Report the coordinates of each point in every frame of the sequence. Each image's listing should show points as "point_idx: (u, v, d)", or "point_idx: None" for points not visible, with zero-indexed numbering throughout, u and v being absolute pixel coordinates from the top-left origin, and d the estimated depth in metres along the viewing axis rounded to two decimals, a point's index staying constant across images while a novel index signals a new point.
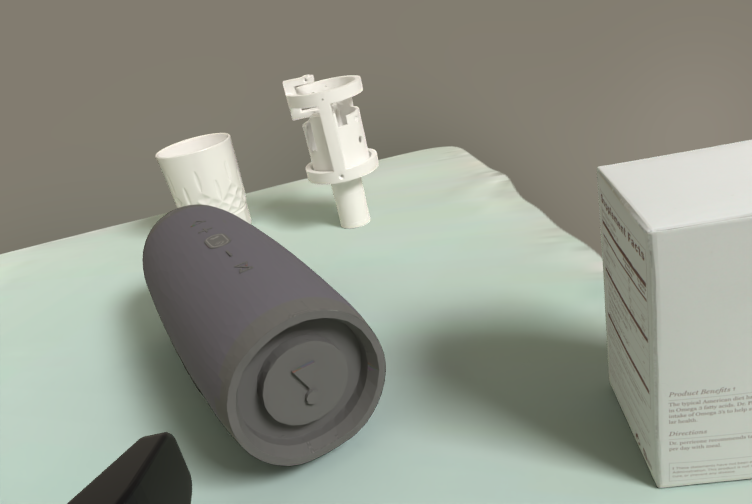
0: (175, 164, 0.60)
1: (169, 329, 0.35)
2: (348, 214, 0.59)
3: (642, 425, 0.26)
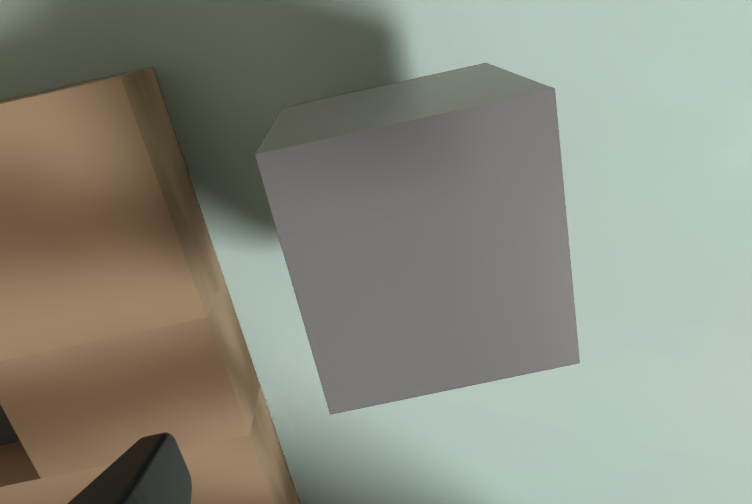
0: None
1: None
2: None
3: None
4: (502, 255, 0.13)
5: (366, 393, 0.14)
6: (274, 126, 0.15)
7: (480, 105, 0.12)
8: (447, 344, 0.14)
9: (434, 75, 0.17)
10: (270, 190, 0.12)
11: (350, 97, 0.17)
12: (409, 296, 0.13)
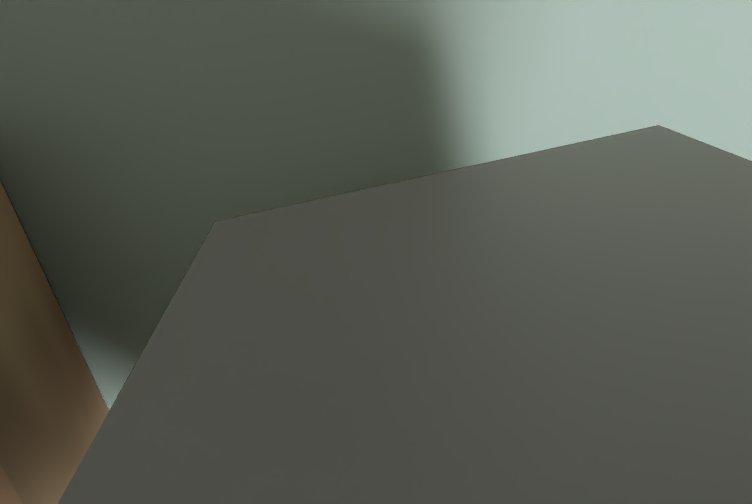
0: None
1: None
2: None
3: None
4: None
5: None
6: (159, 336, 0.05)
7: None
8: None
9: (549, 155, 0.08)
10: None
11: (364, 212, 0.07)
12: None
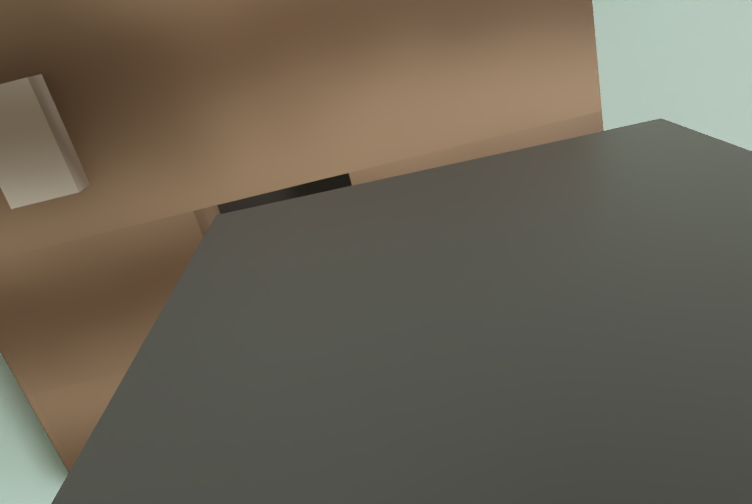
0: None
1: None
2: None
3: None
4: None
5: None
6: (160, 327, 0.05)
7: None
8: None
9: (551, 148, 0.08)
10: None
11: (365, 205, 0.07)
12: None
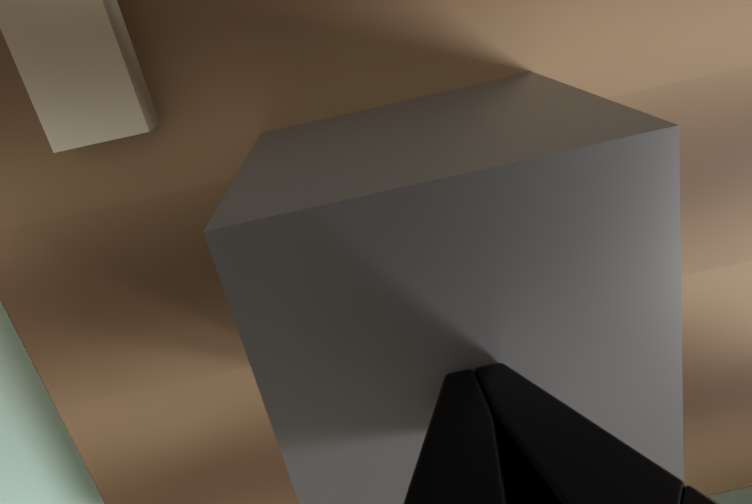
0: None
1: None
2: None
3: None
4: (581, 368, 0.09)
5: None
6: (244, 168, 0.10)
7: (560, 152, 0.07)
8: None
9: (464, 89, 0.13)
10: (229, 284, 0.08)
11: (351, 121, 0.12)
12: None
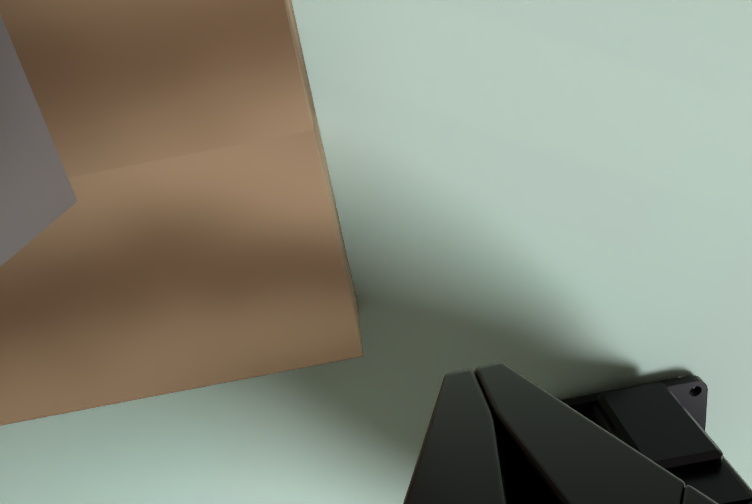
0: None
1: None
2: None
3: None
4: None
5: None
6: None
7: None
8: None
9: None
10: None
11: None
12: None
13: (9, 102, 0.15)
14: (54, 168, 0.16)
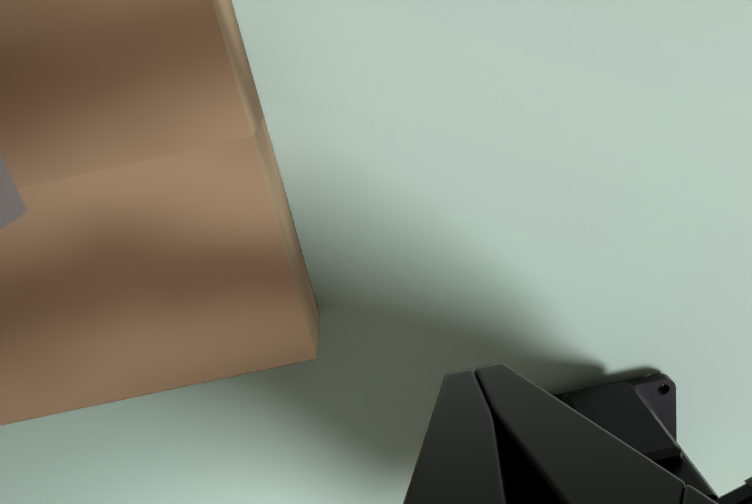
0: None
1: None
2: None
3: None
4: None
5: None
6: None
7: None
8: None
9: None
10: None
11: None
12: None
13: None
14: (1, 180, 0.17)
